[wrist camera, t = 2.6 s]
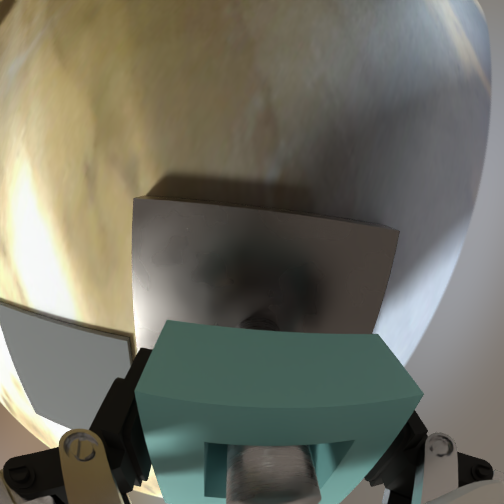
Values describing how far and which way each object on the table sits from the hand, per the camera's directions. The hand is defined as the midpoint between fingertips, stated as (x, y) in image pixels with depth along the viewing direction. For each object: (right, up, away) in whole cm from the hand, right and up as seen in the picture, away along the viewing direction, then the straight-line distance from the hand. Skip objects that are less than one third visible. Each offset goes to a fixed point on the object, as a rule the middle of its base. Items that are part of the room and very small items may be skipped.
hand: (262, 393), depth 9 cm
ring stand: (0, +1, +5) cm, 5 cm away
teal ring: (0, 0, -1) cm, 1 cm away
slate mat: (-14, -5, +6) cm, 16 cm away
